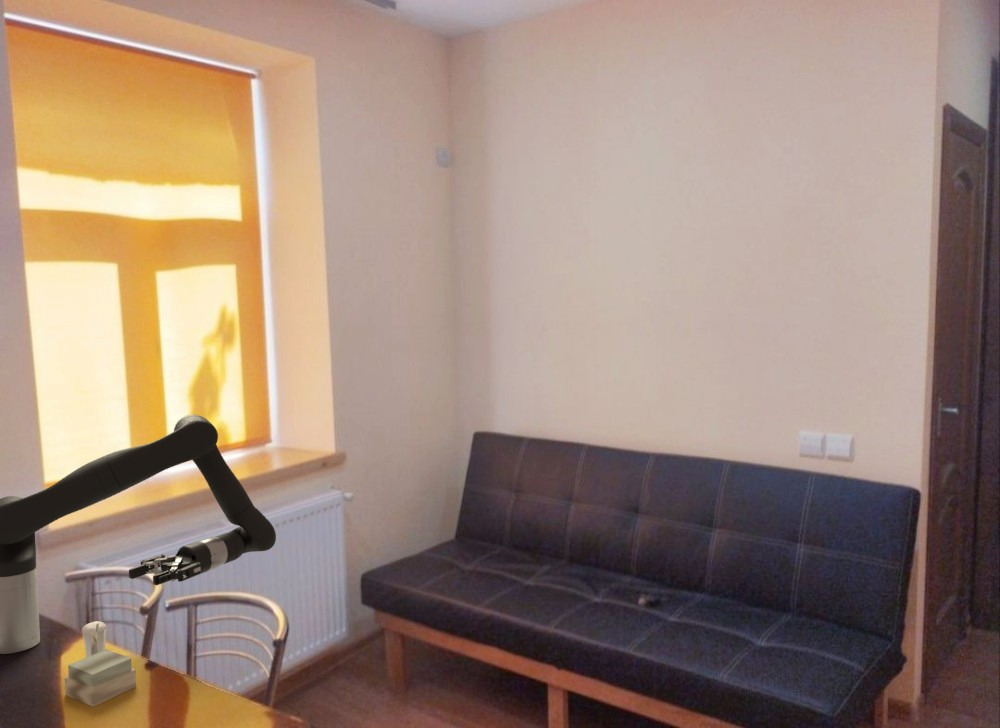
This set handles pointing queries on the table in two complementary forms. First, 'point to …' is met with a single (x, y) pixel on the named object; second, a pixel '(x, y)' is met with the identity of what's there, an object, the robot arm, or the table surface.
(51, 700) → the table surface
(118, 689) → the tower base
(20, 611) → the robot arm
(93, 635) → the milkshake
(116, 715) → the table surface
